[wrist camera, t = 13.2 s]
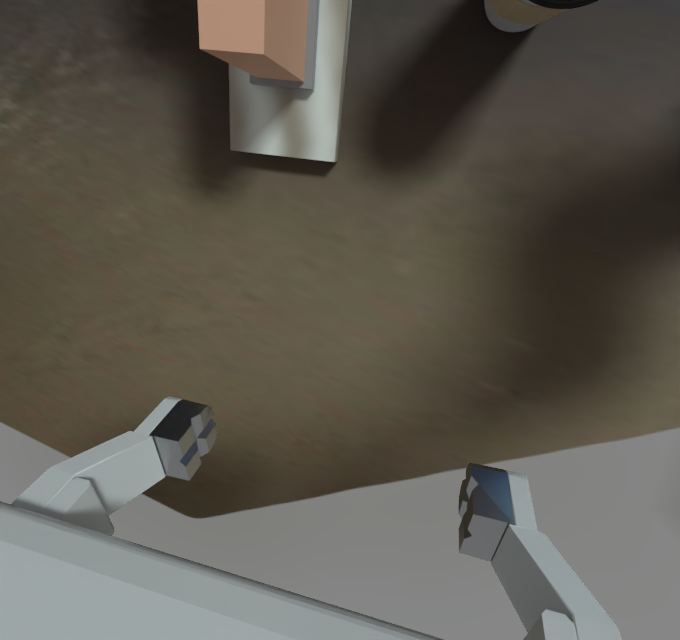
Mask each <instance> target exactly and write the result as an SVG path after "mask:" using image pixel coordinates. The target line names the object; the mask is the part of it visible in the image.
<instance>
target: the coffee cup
mask: <svg viewBox="0 0 680 640" xmlns="http://www.w3.org/2000/svg"><path fill="white" fill-rule="evenodd" d="M596 1H598V0H484V6H485V12H486V15H487V17H488V20H489V21H490V22H491V23H492V25H494V26H495V27H496V28H498V29H500V30H502V31H506V32H520V31H525V30H527V29H529V28H532V27H533V26H535V25H537V24H539V23H542V22H545V21H547V20H549V19H552V18H554V17H555V16H557V15H559V14H561V13H562V12H564V11H566V10H568V9H572V8H577V7H581V6H585V5H588V4H591V3H593V2H596Z"/></svg>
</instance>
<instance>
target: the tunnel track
mask: <svg viewBox="0 0 680 640" xmlns="http://www.w3.org/2000/svg"><path fill="white" fill-rule="evenodd" d="M351 5H352V0H320V3H319V19H318V36H317V52H316V68H315V84H314V91H313V90H303V89H292V88H282V87H271V86H261V85H253V84H251V83H250V74H249V73H247V72H245V71H243V70H241V69H239V68H237V67H235V66H233V65H231V64H229V103H230V150H233V151H241V152H250V153H259V154H267V155H276V156H285V157H294V158H302V159H311V160H320V161H328V162H337V161H338V150H339V139H340V128H341V116H342V105H343V94H344V83H345V72H346V61H347V49H348V38H349V27H350V16H351Z"/></svg>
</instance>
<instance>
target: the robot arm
mask: <svg viewBox="0 0 680 640" xmlns="http://www.w3.org/2000/svg"><path fill="white" fill-rule="evenodd" d="M213 415H214V412H213V408H212V407H211V406H207V405H203V404H199V403H195V402H191V401H187V400H183V399H179V398H175V397H170V396H169V397H167V398H165V399H164V400H163V401H162V402H161V403H160V404H159V405H158V406H157V407H156V408H155V409H154V410H153V411H152V413H151V414H150V415H149V416H148V417H147V418H146V419H145V420H144V421H143V422H142V423H141V424H140V425H139V426H138V428H137V429H136V430H135V431H134V432H132V431H128V432H126V433H124V434H122V435H120V436H118V437H115V438H113V439H111V440H109V441H107V442H105V443H102V444H100V445H98V446H96V447H94V448H91V449H89V450H87V451H85V452H83V453H81V454H78V455H76V456H74V457H72V458H70V459H68V460H65V461H64V462H61V463H59V464H57V465H55V466H52V467H50V468H49V469H48V470H47V471H46V472H45V473H44V474H43V475H41V477H39V479H37V480H36V481H35V482H34V483H33V484H32V485H31V486H30V487H29V488H28V489H27V490H25V492H23V493H22V494H21V495H20V496H19V497H18V498H17V499H16V500H15V501H14V502H13V503H12V504H11V505H10V504H7V503H4V502H1V501H0V640H443V639H440V638H437V637H434V636H431V635H427V634H424V633H421V632H418V631H415V630H411V629H408V628H405V627H402V626H399V625H395V624H392V623H389V622H386V621H383V620H379V619H376V618H373V617H370V616H367V615H363V614H360V613H357V612H354V611H351V610H347V609H344V608H341V607H338V606H334V605H331V604H328V603H325V602H322V601H318V600H315V599H312V598H309V597H305V596H302V595H299V594H296V593H293V592H290V591H286V590H283V589H280V588H277V587H274V586H270V585H267V584H264V583H261V582H257V581H254V580H251V579H247V578H245V577H242V576H238V575H235V574H232V573H229V572H225V571H222V570H219V569H216V568H213V567H209V566H206V565H203V564H200V563H196V562H193V561H190V560H187V559H184V558H180V557H177V556H174V555H171V554H167V553H164V552H161V551H158V550H155V549H152V548H148V547H145V546H142V545H139V544H136V543H132V542H129V541H126V540H122V539H119V538H116V537H113V536H112V535H113V533H114V527H113V525H112V523H111V521H110V519H109V517H108V516H109V515H110V514H112V513H113V512H114V511H116V510H118V509H119V508H121V507H122V506H123V505H125V504H126V503H128V502H129V501H131V500H132V499H133V498H135V497H136V496H138V495H139V494H141V493H143V492H144V491H145V490H147V489H148V488H150V487H151V486H153V485H154V484H156V483H157V482H159V481H160V480H162V479H163V478H164V477H165V475H167V476H171V477H176V478H180V479H184V480H188V481H190V479H191V478H192V477H193V475H194V474H195V472H196V471H197V469H198V468H199V466H200V465H201V456H203V455H205V454H207V453H208V452H209V451H210V450H211V448H212V447H213V445H214V442H215V439H216V437H217V426H216V423H215V422H214V421H213V420H212V419H211V418H212V417H213ZM459 515H460V516H461V518H462V521H461V524H460V527H459V552H460V553H463V554H467V555H470V556H473V557H477V558H480V559H484V560H487V561H490V562H491V564H492V566H493V568H494V570H495V572H496V574H497V576H498V578H499V580H500V581H501V583H502V585H503V587H504V589H505V591H506V592H507V595H508V596H509V598H510V600H511V602H512V604H513V606H514V608H515V609H516V611H517V613H518V615H519V617H520V619H521V621H522V623H523V625H524V627H525V628H526V630H527V632H528V634H527V636H526V637H525V638H524V640H621V636H620V633H619V630H618V628H617V626H616V625H615V624H614V622H613V621H612V620H611V619H610V617H609V616H608V615H607V613H606V612H605V611H604V609H603V608H602V607H601V606H600V604H599V603H598V602H597V601H596V599H595V598H594V597H593V595H592V594H591V593H590V592H589V591H588V589H587V588H586V587H585V585H584V584H583V583H582V581H581V580H580V579H579V578H578V576H577V575H576V574H575V573H574V571H573V570H572V568H571V567H570V566H569V565H568V563H567V562H566V561H565V560H564V558H563V557H562V556H561V554H560V553H559V552H558V551H557V549H556V548H555V547H554V545H553V544H552V543H551V542H550V540H549V539H548V538H547V536H546V535H545V534H544V533H543V532H539V531H538V530H537V526H536V520H535V515H534V510H533V504H532V499H531V494H530V489H529V483H528V479H527V477H526V475H524V474H520V473H515V472H510V471H505V470H503V469H498V468H493V467H488V466H484V465H479V464H474V463H469V464H468V466H467V469H466V479H465V480H463V482H462V485H461V490H460V496H459Z"/></svg>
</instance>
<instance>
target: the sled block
mask: <svg viewBox="0 0 680 640" xmlns="http://www.w3.org/2000/svg"><path fill="white" fill-rule="evenodd" d="M319 3H320V0H198V22H199V45H200V49H201V50H203V51H205V52H207V53H209V54H211V55H213V56H215V57H217V58H219V59H221V60H223V61H225V62H227V63H229V64H231V65H233V66H235V67H237V68H239V69H241V70H243V71H245V72H247V73H249V74H250V83H251V84H253V85H261V86H271V87H282V88H292V89H303V90H313V91H314V84H315V68H316V52H317V36H318V19H319Z"/></svg>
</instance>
